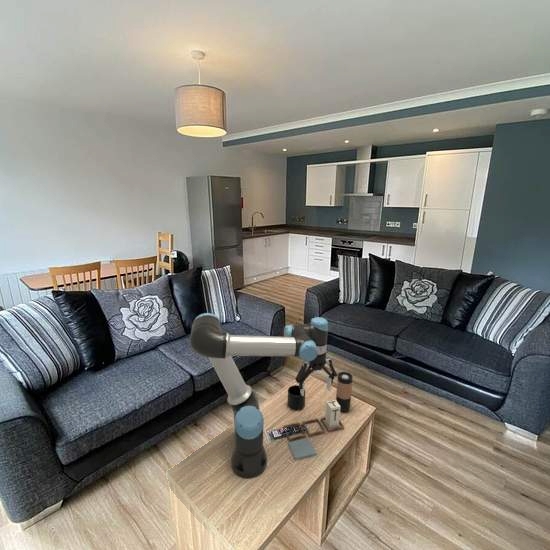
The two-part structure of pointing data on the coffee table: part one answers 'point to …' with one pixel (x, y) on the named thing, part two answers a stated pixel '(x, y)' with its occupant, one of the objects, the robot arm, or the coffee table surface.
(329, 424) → the letter block
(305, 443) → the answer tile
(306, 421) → the wooden window frame
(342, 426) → the wooden frame right
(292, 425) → the wooden picture frame
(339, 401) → the travel mug
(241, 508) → the coffee table surface
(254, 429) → the robot arm
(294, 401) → the mug
